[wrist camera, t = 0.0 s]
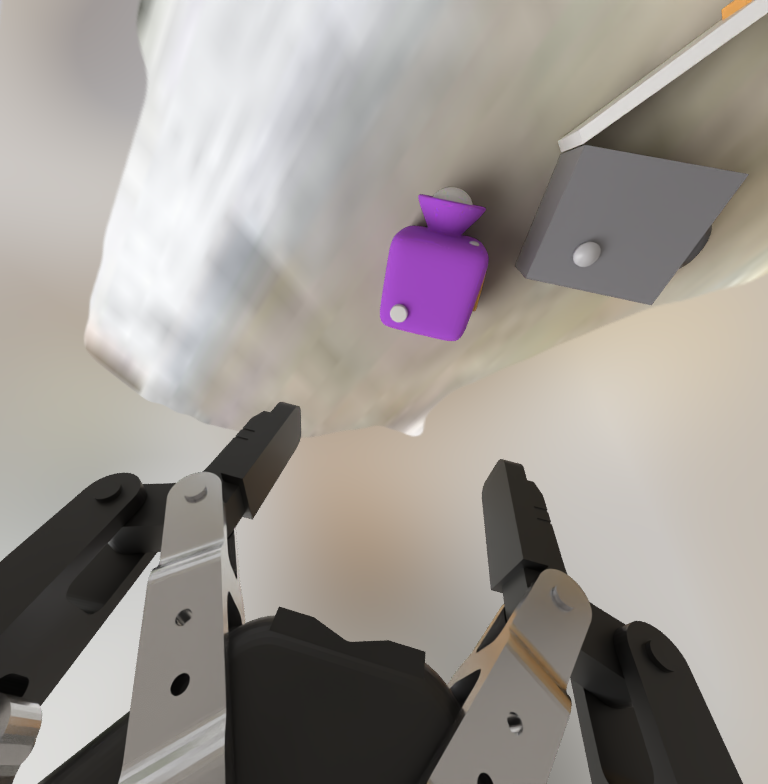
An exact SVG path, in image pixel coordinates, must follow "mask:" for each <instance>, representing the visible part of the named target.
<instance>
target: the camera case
mask: <svg viewBox="0 0 768 784" xmlns="http://www.w3.org/2000/svg"><path fill="white" fill-rule="evenodd" d="M748 175H749V174H744V173H739V172H733V171H728V170H722V169H717V168H711V167H706V166H700V165H694V164H689V163H683V162H678V161H672V160H667V159H661V158H656V157H650V156H644V155H639V154H633V153H628V152H622V151H617V150H611V149H606V148H600V147H594V146H589V145H583V146H580V147H578V148H575V149H573V150H570V151H567V152H565V153H562V154H561V155H560V157H559V159H558V162H557V164H556V167H555V169H554V172H553V174H552V177H551V179H550V181H549V184H548V186H547V189H546V191H545V194H544V196H543V198H542V201H541V203H540V206H539V208H538V211H537V213H536V216H535V218H534V220H533V223H532V225H531V228H530V230H529V233H528V235H527V237H526V240H525V242H524V245H523V247H522V250H521V252H520V255H519V257H518V259H517V262H516V264H515V267H516V268H517V269H518V270H519V271H520V272H521V274H522V275H523V276H524V277H525V278H527V279H531V280H536V281H541V282H545V283H550V284H555V285H559V286H564V287H569V288H573V289H578V290H583V291H587V292H592V293H597V294H601V295H606V296H611V297H615V298H620V299H625V300H629V301H634V302H639V303H643V304H648V305H652V304H653V303H654V301H655V300H656V299H657V297H658V296H659V295H660V293H661V292H662V290H663V289H664V288H665V286H666V285H667V284H668V282H669V281H670V280H671V278H672V277H673V276H674V274H675V273H676V272H677V270H678V269H680V268H682V267H683V266H685V265H687V264H688V263H689V262H690V261H692V260H693V259H694V258H695V257H696V256H697V255H698V254H699V253H700V251H701V250H702V249H703V247H704V246H705V244H706V243H707V241H708V239H709V237H710V234H711V230H712V223H713V222H714V221H715V219H716V218H717V216H718V215H719V214H720V212H721V211H722V210H723V208H724V207H725V206H726V204H727V203H728V202H729V200H730V199H731V198H732V196H733V195H734V194H735V192H736V191H737V190H738V188H739V187H740V186H741V184H742V183H743V181H744V180H745V179H746V177H747V176H748Z"/></svg>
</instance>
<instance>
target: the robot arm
mask: <svg viewBox="0 0 768 784" xmlns="http://www.w3.org/2000/svg"><path fill="white" fill-rule="evenodd" d="M300 438H301V410H300V407H299V406H296V405H292V404H288V403H284V402H279V403H278V404H277V405H276V407H275V408H274V409H273V410H272V411H271V412H267V411H263V412H261V413H260V414H258V415H256V416H254V417H253V418H251V419H250V420H249V422H248V423H247V424H246V425H245V426H244V427H243V429H242V430H240V432H239V433H238V434H237V435H236V437H235V438H233V439H232V441H231V442H230V443H229V444H228V445H227V446H226V447H225V448H224V449H223V450H222V452H221V453H220V454H219V455H218V456H217V457H216V458H215V459H214V460H213V462H212V463H211V464H210V465H209V466H208V467H207V468H206V469H205V470H204V471H203V472H198V473H194V474H191V475H188V476H186V477H184V478H183V479H181V480H179V481H178V482H177V483H169V484H142V483H141V481H140V479H139V478H138V477H137V476H135V475H134V474H131V473H117V474H113V475H109V476H106V477H104V478H102V479H99V480H98V481H95V482H94V483H92V484H91V485H90V486H88V487H87V488H86V489H85V490H83V491H82V492H81V493H80V494H79V495H77V496H76V497H75V498H74V499H73V500H72V501H70V502H69V503H68V504H67V505H66V506H65V507H63V508H62V509H61V510H60V511H59V512H58V513H56V514H55V515H54V516H53V517H52V518H51V519H49V520H48V521H47V522H46V523H45V524H44V525H42V526H41V527H40V528H39V529H38V530H37V531H35V532H34V533H33V534H32V535H31V536H30V537H28V538H27V539H26V540H25V541H24V542H23V543H22V544H20V545H19V546H18V547H17V548H16V549H15V550H13V551H12V552H11V553H10V554H9V555H8V556H6V557H5V558H4V559H3V560H2V561H1V562H0V784H12V783H13V780H14V778H15V775H16V773H17V771H18V769H19V767H20V765H21V764H22V763H23V761H24V760H25V759H26V758H27V757H28V755H29V754H30V753H31V751H32V749H33V747H34V745H35V742H36V738H37V735H38V732H39V730H40V726H41V722H42V711H41V708H40V706H41V705H42V703H43V702H44V701H45V699H46V698H47V697H48V696H49V694H50V693H51V692H52V690H53V689H54V688H55V686H56V685H57V684H58V682H59V681H60V680H61V678H62V677H63V676H64V674H65V673H66V672H67V671H68V669H69V668H70V667H71V665H72V664H73V663H74V661H75V660H76V659H77V657H78V656H79V655H80V653H81V652H82V651H83V649H84V648H85V647H86V646H87V644H88V643H89V642H90V640H91V639H92V638H93V636H94V635H95V634H96V632H97V631H98V630H99V628H100V627H101V626H102V624H103V623H104V622H105V621H106V619H107V618H108V616H109V615H110V614H111V613H112V611H113V610H114V609H115V607H116V606H117V605H118V603H119V602H120V601H121V599H122V598H123V597H124V595H125V594H126V593H127V591H128V590H129V589H130V588H131V586H132V585H133V584H134V582H135V581H136V580H137V578H138V577H139V576H140V574H141V573H142V572H143V570H144V569H145V568H146V566H147V565H148V564H149V563H150V561H151V560H152V558H153V557H154V556H155V555H156V553H157V552H161V556H160V562H159V565H158V567H156V568H154V569H153V570H152V571H151V573H150V576H149V579H148V583H147V590H146V598H145V606H144V613H143V620H142V627H141V635H140V642H139V649H138V657H137V664H136V671H135V678H134V686H133V693H132V701H131V708H130V711H129V712H128V713H127V714H125V715H124V716H123V717H122V718H120V719H119V720H118V721H116V722H115V723H114V724H113V725H112V726H110V727H109V728H107V729H106V730H105V731H104V732H102V733H101V734H100V735H99V736H97V737H96V738H95V739H94V740H92V741H91V742H90V743H88V744H87V745H86V746H85V747H84V748H82V749H81V750H80V751H78V752H77V753H76V754H75V755H73V756H72V757H71V758H70V759H68V760H67V761H66V762H64V763H63V764H62V765H61V766H59V767H58V768H57V769H56V770H54V771H53V772H52V773H50V774H49V775H48V776H47V777H45V778H44V779H43V780H42V781H40V782H39V783H38V784H547V780H548V778H549V775H550V772H551V769H552V766H553V763H554V760H555V757H556V754H557V752H558V748H559V746H560V743H561V740H562V737H563V734H564V731H565V728H566V726H567V723H568V720H569V716H570V713H571V706H572V703H571V698H570V697H569V695H567V692H566V688H567V684H568V681H569V679H570V678H571V683H572V688H573V693H574V698H575V703H576V708H577V713H578V718H579V723H580V727H581V732H582V737H583V742H584V746H585V752H586V757H587V761H588V767H589V772H590V776H591V781H592V784H743V783H742V780H741V778H740V776H739V774H738V772H737V770H736V768H735V765H734V763H733V761H732V759H731V757H730V755H729V752H728V750H727V748H726V746H725V744H724V742H723V739H722V737H721V735H720V733H719V731H718V729H717V727H716V724H715V722H714V720H713V718H712V716H711V713H710V711H709V709H708V707H707V705H706V703H705V701H704V698H703V696H702V694H701V692H700V690H699V687H698V686H697V683H696V681H695V679H694V677H693V674H692V672H691V670H690V668H689V666H688V664H687V662H686V660H685V659H684V657H683V655H682V654H681V653H680V651H679V650H678V649H677V647H676V646H675V645H674V644H673V643H672V641H670V639H668V638H667V637H666V636H665V635H664V634H663V633H662V632H661V631H659V630H658V629H657V628H655V627H653V626H652V625H650V624H647V623H645V622H642V621H634V622H632V623H629V624H627V625H625V624H624V623H622V622H620V621H619V620H617V619H615V618H614V617H612V616H611V615H609V614H607V613H606V612H604V611H602V610H601V609H599V608H598V607H596V606H595V605H593V604H592V603H590V602H589V600H588V598H587V596H586V595H585V593H584V591H583V590H582V589H581V587H580V586H579V585H578V584H577V583H576V582H575V581H574V580H573V579H572V578H571V577H570V576H568V575H567V572H566V570H565V567H564V563H563V560H562V557H561V554H560V551H559V547H558V544H557V540H556V537H555V534H554V530H553V527H552V525H551V524H550V522H551V521H550V517H549V514H548V512H547V507H546V504H545V501H544V498H543V495H542V493H541V492H540V491H539V489H538V488H537V486H536V485H535V483H534V482H532V481H528V480H527V478H526V475H525V471H524V467H523V466H522V465H521V464H518V463H514V462H510V461H506V460H503V459H500V460H499V461H498V462H497V464H496V465H495V467H494V468H493V470H492V472H491V473H490V475H489V477H488V478H487V480H486V481H485V483H484V486H483V491H482V503H483V514H484V524H485V533H486V544H487V554H488V564H489V574H490V584H491V590H493V591H497V592H500V593H503V596H504V604H503V605H502V606H501V608H500V609H499V611H498V612H497V614H496V615H495V617H494V619H493V620H492V622H491V623H490V625H489V626H488V628H487V630H486V631H485V633H484V634H483V636H482V637H481V639H480V640H479V642H478V643H477V645H476V647H475V648H474V650H473V651H472V653H471V654H470V655H469V657H468V658H467V659H466V660H465V661H464V662H463V663H462V665H461V666H460V667H459V668H458V670H457V671H456V672H455V674H454V675H453V677H452V678H451V680H450V681H449V683H448V684H447V685H446V683H445V682H444V681H443V679H442V678H441V677H440V676H439V675H438V674H437V673H436V672H435V671H434V670H433V669H432V668H431V667H430V666H429V665H427V664H426V663H425V652H424V651H421V650H418V649H415V648H411V647H408V646H405V645H401V644H398V643H395V642H392V641H389V640H387V641H363V642H349V641H346V640H344V639H343V638H342V637H340V636H339V635H337V634H336V633H334V632H333V631H332V630H330V629H329V628H328V627H326V626H325V625H324V624H322V623H321V622H320V621H318V620H317V619H316V618H314V617H311V616H308V615H305V614H301V613H298V612H295V611H292V610H288V609H285V608H282V607H279V608H278V610H277V613H276V615H275V616H267V617H262V618H258V619H255V620H252V621H250V622H247V623H245V614H244V604H243V597H242V592H241V586H240V577H239V564H238V551H237V538H236V525H237V524H238V522H239V521H240V519H241V518H242V517H246V518H249V519H253V518H254V516H255V515H256V513H257V511H258V510H259V508H260V506H261V505H262V503H263V502H264V500H265V498H266V497H267V495H268V493H269V492H270V490H271V489H272V487H273V485H274V484H275V482H276V481H277V479H278V477H279V476H280V474H281V472H282V471H283V469H284V468H285V466H286V464H287V462H288V461H289V459H290V458H291V456H292V454H293V453H294V451H295V450H296V448H297V446H298V444H299V441H300Z"/></svg>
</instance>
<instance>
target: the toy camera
mask: <svg viewBox="0 0 768 784" xmlns="http://www.w3.org/2000/svg"><path fill="white" fill-rule="evenodd" d="M419 202H420V206H421V209H422V212H423V214H424V217H425V220H426V223H427V226H428V228H427V227H422V226H408V227H405V228H404V229H402V230H401V231H399V232H398V233H397V234H396V235H395V236H394V238H393V240H392V243H391V246H390V250H389V256H388V262H387V268H386V274H385V280H384V287H383V293H382V300H381V307H380V318H381V321H382V323H383V324H385V325H386V326H389V327H392V328H395V329H399V330H403V331H407V332H411V333H415V334H420V335H424V336H428V337H432V338H437V339H441V340H447V341H456V340H458V339H459V338H460V337H461V336H462V335H463V333H464V331H465V329H466V326H467V324H468V321H469V318H470V316H471V313H472V311H476V308H477V305H478V301H479V297H480V294H481V290H482V287H483V283H484V279H485V276H486V272H487V267H488V260H489V257H488V253H487V251H486V249H485V247H484V246H483V244H482V243H481V242H480V241H479V240H477V239H475V238H472V237H468V236H465V235H462V234H463V233H464V232H465V231H466V230H467V229H468V228H469V227H470V226H471V225H472V224H473V223H474V222H476V221H477V220H478V219H479V218H480V217H481V216H482V214H483V213H484V212H485V211H486V208H485V207H481V206H477V205H473V204H472V201H471V198H470V197H469V195H468V194H467V193H466V192H465V191H463V190H462V189H459V188H456V187H447V188H443V189H441V190H439V191H438V192H436V193H435V194H434V195H433V196H428V195H423V194H420V195H419Z"/></svg>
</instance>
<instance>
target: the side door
mask: <svg viewBox="0 0 768 784" xmlns="http://www.w3.org/2000/svg"><path fill="white" fill-rule="evenodd" d="M767 13H768V0H734V1H732V2H731V3H730V4H728V5H727V6H726V7H724V8H723V9H722V19H721V20H720V21H719V22H717V23H716V24H715V25H713V26H712V27H711V28H709V29H708V30H707V31H705V32H704V33H703V34H701V35H700V36H699V37H697V38H696V39H695V40H693V41H692V42H690V43H689V44H688V45H686V46H685V47H684V48H682V49H681V50H680V51H678V52H677V53H676V54H674V55H673V56H672V57H670V58H669V59H668V60H666V61H665V62H664V63H662V64H661V65H660V66H658V67H657V68H655V69H654V70H653V71H651V72H650V73H649V74H647V75H646V76H645V77H643V78H642V79H641V80H639V81H638V82H637V83H635V84H634V85H633V86H631V87H630V88H629V89H627V90H626V91H625V92H623V93H622V94H620V95H619V96H618V97H616V98H615V99H614V100H612V101H611V102H610V103H608V104H607V105H606V106H604V107H603V108H602V109H600V110H599V111H598V112H596V113H595V114H594V115H592V116H591V117H590V118H588V119H587V120H586V121H584V122H583V123H581V124H580V125H579V126H577V127H576V128H575V129H573V130H572V131H571V132H569V133H568V134H567V135H565V136H564V137H563V138H561V139H560V140H559V141H558V144H559V147H560V150H561V153H562V152H564V151H567V150H569V149H572V148H574V147H577V146H579V145H582V144H584V143H585V142H587V141H588V140H589V139H591V138H592V137H594V136H595V135H596V134H598V133H599V132H601V131H602V130H603V129H605V128H606V127H608V126H609V125H610V124H612V123H613V122H615V121H616V120H618V119H619V118H620V117H622V116H623V115H625V114H626V113H627V112H629V111H630V110H632V109H633V108H634V107H636V106H637V105H639V104H640V103H641V102H643V101H644V100H646V99H647V98H648V97H650V96H651V95H653V94H654V93H656V92H657V91H658V90H660V89H661V88H663V87H664V86H665V85H667V84H668V83H670V82H671V81H672V80H674V79H675V78H677V77H678V76H679V75H681V74H682V73H684V72H685V71H686V70H688V69H689V68H691V67H692V66H693V65H695V64H696V63H698V62H699V61H701V60H702V59H703V58H705V57H706V56H708V55H709V54H710V53H712V52H713V51H715V50H716V49H717V48H719V47H720V46H722V45H723V44H724V43H726V42H727V41H729V40H730V39H731V38H733V37H734V36H736V35H737V34H738V33H740V32H741V31H743V30H744V29H746V28H747V27H748V26H750V25H751V24H753V23H754V22H755V21H757V20H758V19H760V18H761V17H762V16H764V15H765V14H767Z"/></svg>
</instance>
